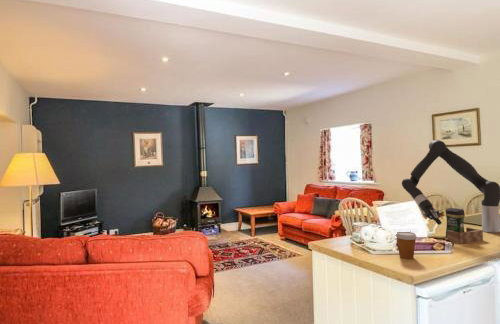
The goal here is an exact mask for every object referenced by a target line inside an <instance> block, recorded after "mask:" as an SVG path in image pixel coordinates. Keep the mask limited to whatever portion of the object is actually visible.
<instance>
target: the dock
mask: <svg viewBox="0 0 500 324" xmlns="http://www.w3.org/2000/svg"><path fill="white" fill-rule="evenodd" d="M465 229H466V231H464V232H461V233H460V232H455V231H450V230H447V237H446V241H447V240H449V241H448V242H451V241H452V243H456V244H460V245H463V244H469V243H475V242H482V241H483V240H484V235H483V234H484V233H483V232H484V231H483V230H482V229H478V228H473V227H466V228H465Z"/></svg>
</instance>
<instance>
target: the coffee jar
mask: <svg viewBox="0 0 500 324" xmlns="http://www.w3.org/2000/svg"><path fill="white" fill-rule="evenodd" d="M445 217H446V229H445V238H447V230H450V231H455V232H460V233H461V232H465V225H464V222H465V210H464V209H463V208H462V209H461V208H455V207H447V208H445Z"/></svg>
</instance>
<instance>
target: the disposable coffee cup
mask: <svg viewBox="0 0 500 324" xmlns="http://www.w3.org/2000/svg"><path fill="white" fill-rule="evenodd" d="M395 237H396V241H397V242H396V243H397V248H398V253H399V258H401V259H405V260H413V259H414V255H415V247H416V239H417V238H418V237H417V235H416V232H411V231H410V232H397V234H396V235H395Z"/></svg>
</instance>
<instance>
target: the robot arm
mask: <svg viewBox="0 0 500 324" xmlns="http://www.w3.org/2000/svg"><path fill="white" fill-rule="evenodd" d="M428 149H429V150H428V152H427V154H426V155H425V156H424V158H422V159H421V160H420V161H419V162H418V163H417V164H416V166H414V168H413V169H412V170H411V172H410V178H404V179H403V180H402V181H401V185H402V186H401V187H403V189H404V190H405V191H406V192H407V193H408V194H409V195H410V196H411V198H412V199H413V200H414V202H415V203H416V205H417V206H418V207H419V209H420V210H421V211H422V212H423V213H422V214H423V216H425V217H426V218H428V219H430V220H433V221H434V222H435V223H436V224H437V225H439V226H440V225H442V221H441V220H440V217H441V213H440V210H436V209H435V208H434V207H433V206H434V205H433V203H432V202H431V201H430V200H429V199H428V197H427V196H426V195H425V194H424V193H423V192H422V190H421V189H420V188H419V187H417V186H418V184H419V183H420V179H421V178H422V177H423V176H424V175H425V173H426V171H427V170H429V168H430V167H431V165H432V164H433V163H434V161H436V160H437V159H438V158H441V159H442V160H443V161H444V162H445V163H446V164H448V166H450V167H451V168H452V169H453V171H455V172H456V173H458V174H459V175H460V176H462V177H463V178H464V179H466V180H467V181H468V182H470V183H471V184H472V185H473V186H474V187H475V188H476V189H477V190H478V191H479V192H481V194H483V199H482V200H481V202H480V203H481V204H480V205H481V230H483V232H485V233H494V234H495V233H497V234H498V233H500V205H499V204H500V184H499V183H498V182H495V181H491V180H488V179H486V178H485V177H483V176H482V175H481V174H479V172H478V171H477V170H476V169H475V167H474V166H473V165H472V164H471V163H470V162H468V161H467V160H466V159H465V158H463V157H462V156H460V155H458V154H456V153H455V152H453V151H451V150H450V149H449V148H448V147H447V144H446V143H445V142H444V141H442V140H439V139H434V140H431V141H430V142H429V144H428Z"/></svg>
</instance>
